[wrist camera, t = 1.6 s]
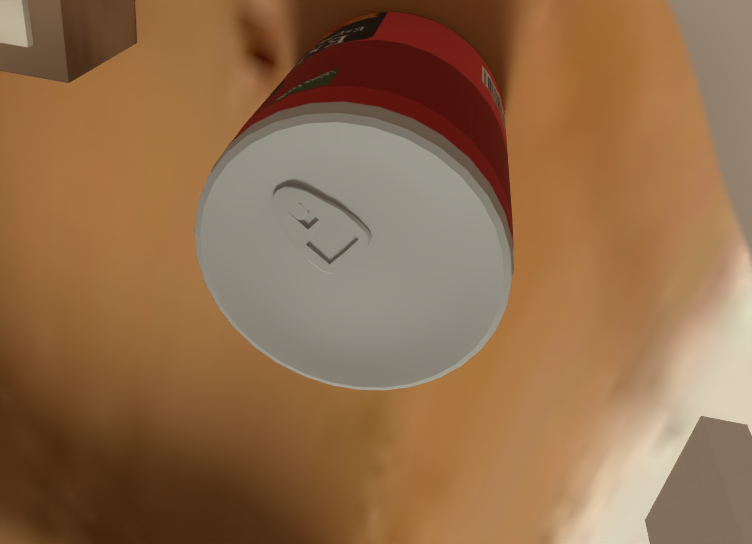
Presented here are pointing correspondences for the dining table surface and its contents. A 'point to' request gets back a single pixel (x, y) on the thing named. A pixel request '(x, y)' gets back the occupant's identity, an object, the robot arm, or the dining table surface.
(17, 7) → the base
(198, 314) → the dining table surface
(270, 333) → the canned food
